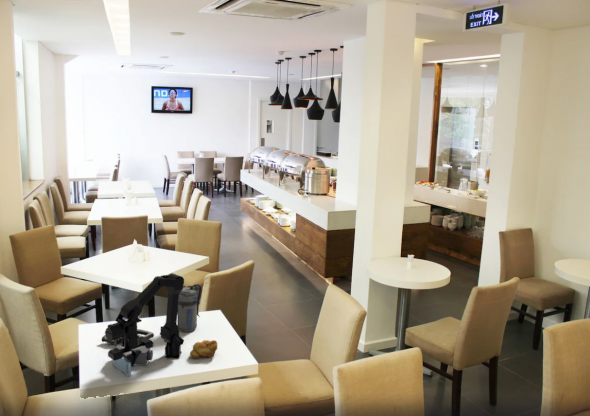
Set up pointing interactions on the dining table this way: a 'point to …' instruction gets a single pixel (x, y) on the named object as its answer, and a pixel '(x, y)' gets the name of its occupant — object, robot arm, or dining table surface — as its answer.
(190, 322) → the beverage bottle
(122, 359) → the side door
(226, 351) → the dining table surface
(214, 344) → the bread roll
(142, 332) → the camcorder
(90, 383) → the dining table surface
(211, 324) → the dining table surface
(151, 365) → the dining table surface
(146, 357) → the grey block with knob
